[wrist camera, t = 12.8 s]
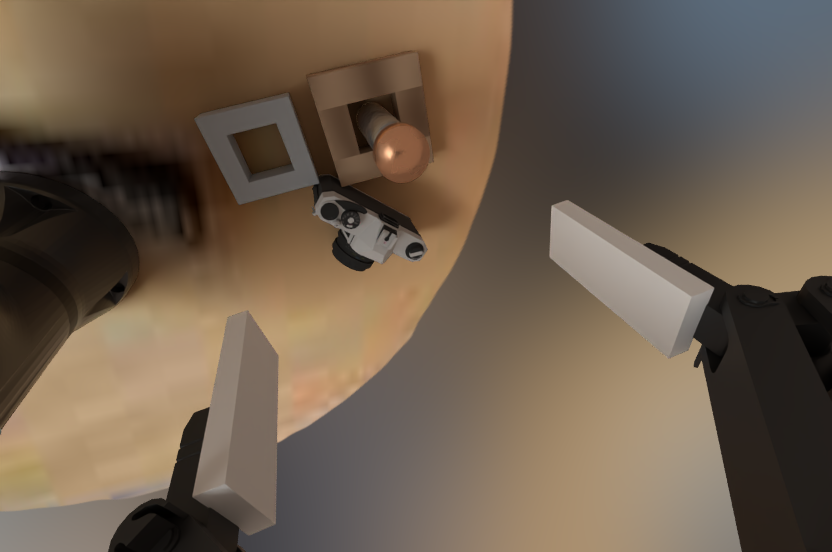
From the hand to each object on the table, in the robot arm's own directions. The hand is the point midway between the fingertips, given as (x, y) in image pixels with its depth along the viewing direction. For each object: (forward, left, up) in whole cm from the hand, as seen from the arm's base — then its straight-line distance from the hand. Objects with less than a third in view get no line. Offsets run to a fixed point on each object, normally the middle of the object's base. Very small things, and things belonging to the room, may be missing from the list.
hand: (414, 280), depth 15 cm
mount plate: (-8, +1, -27) cm, 28 cm away
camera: (-1, -9, -27) cm, 28 cm away
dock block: (+3, +1, -27) cm, 27 cm away
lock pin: (+3, +1, -27) cm, 27 cm away
